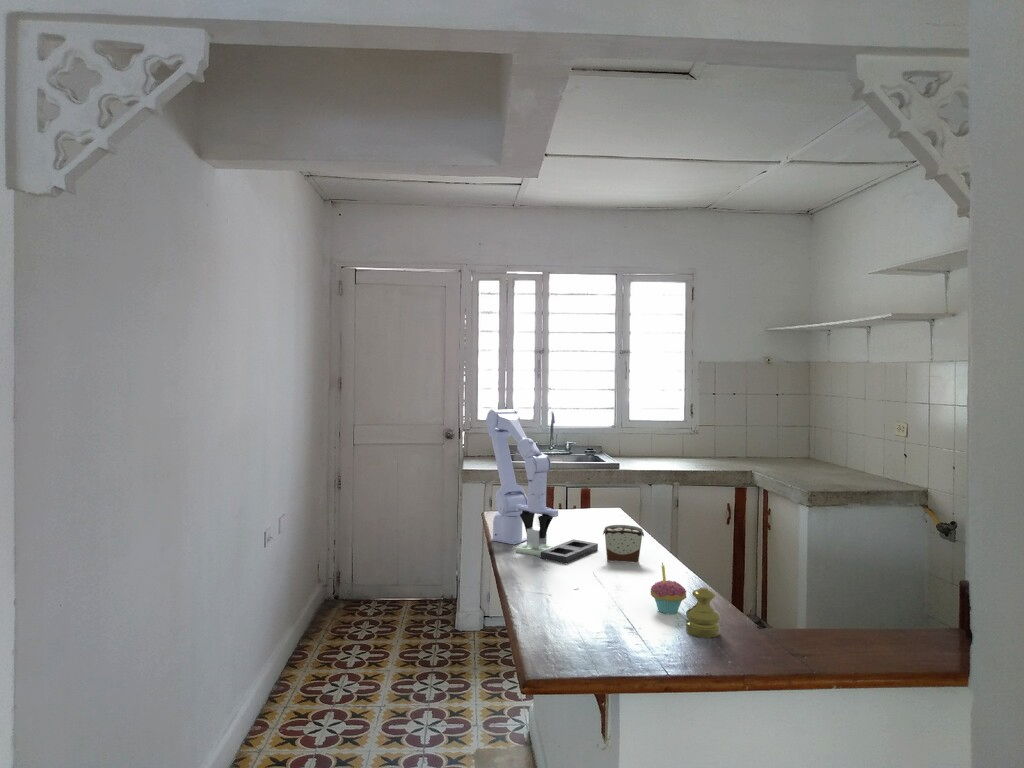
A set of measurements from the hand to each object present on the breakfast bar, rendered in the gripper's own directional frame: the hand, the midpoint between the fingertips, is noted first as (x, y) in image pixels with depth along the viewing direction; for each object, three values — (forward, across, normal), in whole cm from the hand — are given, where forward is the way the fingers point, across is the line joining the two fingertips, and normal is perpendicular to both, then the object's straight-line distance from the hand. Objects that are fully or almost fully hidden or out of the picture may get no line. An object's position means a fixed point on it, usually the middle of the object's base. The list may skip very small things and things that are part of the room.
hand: (536, 536), depth 230 cm
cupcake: (+5, -54, +26) cm, 61 cm away
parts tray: (+5, 0, 0) cm, 5 cm away
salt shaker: (+5, -66, +35) cm, 75 cm away
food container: (+5, -26, -9) cm, 27 cm away
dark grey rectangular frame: (+5, -10, -4) cm, 12 cm away
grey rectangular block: (+3, 0, 0) cm, 3 cm away
